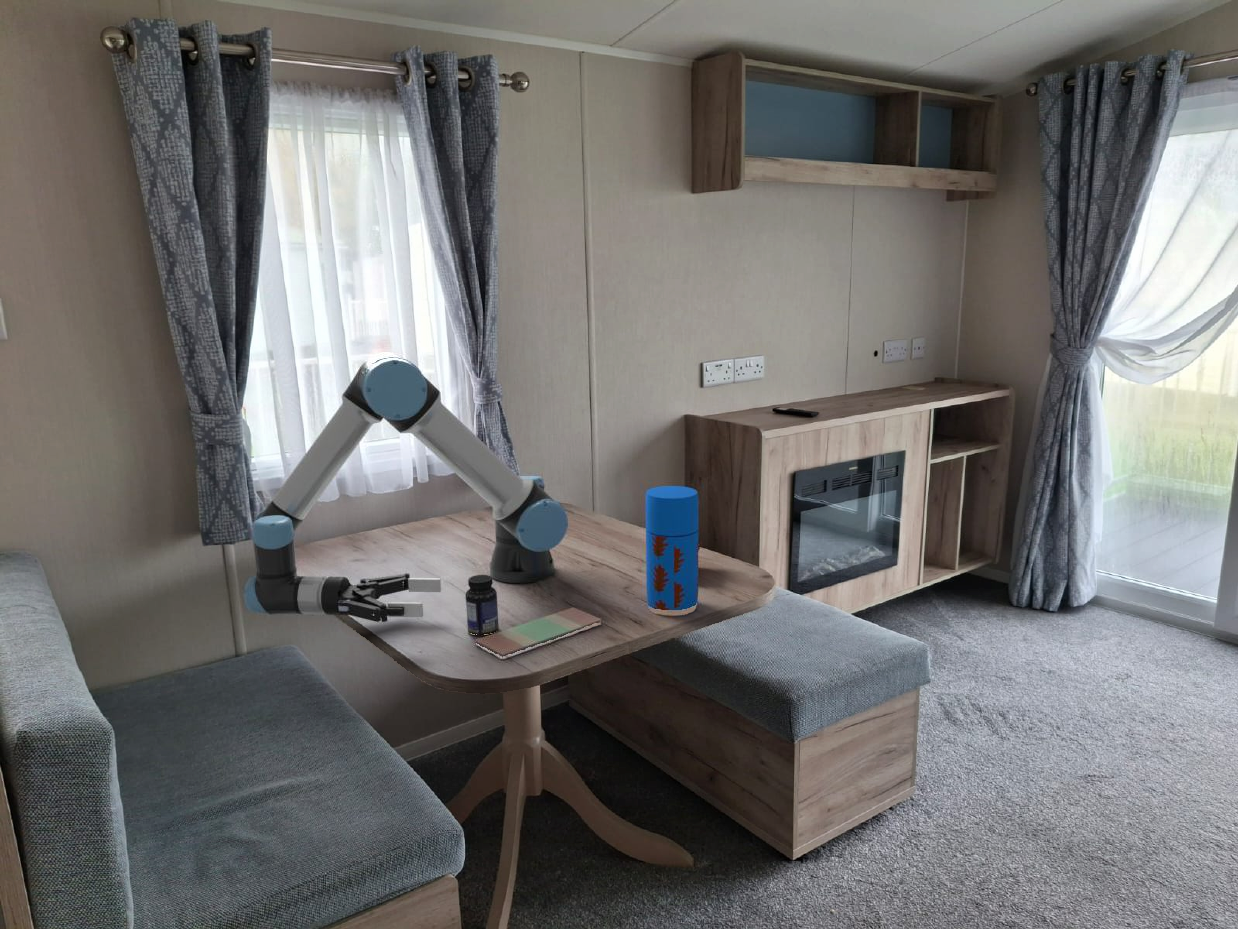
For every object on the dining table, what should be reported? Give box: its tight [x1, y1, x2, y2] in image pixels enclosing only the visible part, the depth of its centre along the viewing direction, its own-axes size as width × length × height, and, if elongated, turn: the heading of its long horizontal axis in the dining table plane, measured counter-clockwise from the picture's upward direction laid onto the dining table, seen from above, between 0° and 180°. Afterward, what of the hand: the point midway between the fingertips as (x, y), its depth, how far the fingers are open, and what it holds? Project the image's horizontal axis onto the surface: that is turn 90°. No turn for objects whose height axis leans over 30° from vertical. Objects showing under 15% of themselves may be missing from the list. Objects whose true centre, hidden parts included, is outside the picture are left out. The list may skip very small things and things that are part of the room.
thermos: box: [645, 485, 699, 610], centre depth 187 cm, size 11×11×25 cm
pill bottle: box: [465, 574, 500, 635], centre depth 178 cm, size 6×6×11 cm
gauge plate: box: [474, 606, 602, 657], centre depth 176 cm, size 9×24×1 cm, turn 132°
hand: (431, 597), depth 178 cm, fingers open, 13 cm apart
